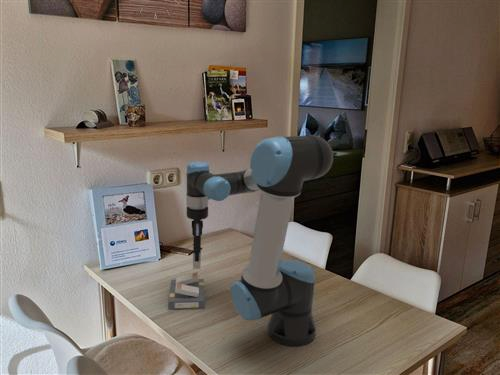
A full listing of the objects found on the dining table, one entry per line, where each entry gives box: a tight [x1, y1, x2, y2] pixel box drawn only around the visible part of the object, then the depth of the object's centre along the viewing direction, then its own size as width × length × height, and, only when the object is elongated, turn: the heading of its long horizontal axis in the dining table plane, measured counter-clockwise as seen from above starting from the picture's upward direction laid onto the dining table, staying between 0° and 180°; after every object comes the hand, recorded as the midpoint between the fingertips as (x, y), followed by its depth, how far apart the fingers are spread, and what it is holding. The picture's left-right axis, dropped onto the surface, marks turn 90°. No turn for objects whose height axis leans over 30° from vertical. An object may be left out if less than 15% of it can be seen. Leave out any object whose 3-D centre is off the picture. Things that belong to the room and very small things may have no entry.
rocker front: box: [175, 283, 199, 297], centre depth 153 cm, size 4×8×2 cm, turn 97°
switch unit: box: [168, 278, 206, 311], centre depth 157 cm, size 16×12×4 cm
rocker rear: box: [175, 271, 200, 285], centre depth 161 cm, size 4×8×2 cm, turn 97°
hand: (196, 267), depth 160 cm, fingers closed
